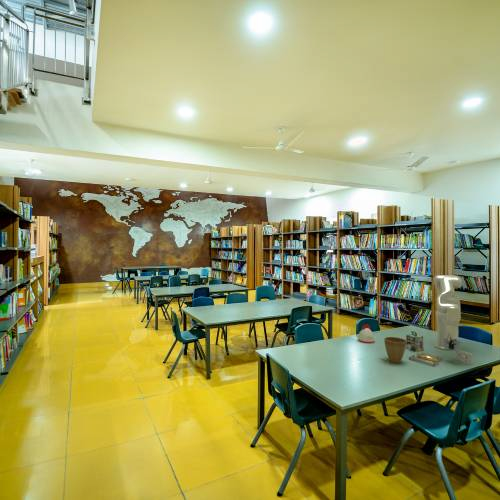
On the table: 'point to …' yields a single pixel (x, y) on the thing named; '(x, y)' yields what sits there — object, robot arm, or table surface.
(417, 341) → the model building
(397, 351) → the plant pot
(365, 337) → the cupcake
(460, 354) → the cassette
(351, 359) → the table surface
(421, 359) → the hinge base
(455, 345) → the grey block
